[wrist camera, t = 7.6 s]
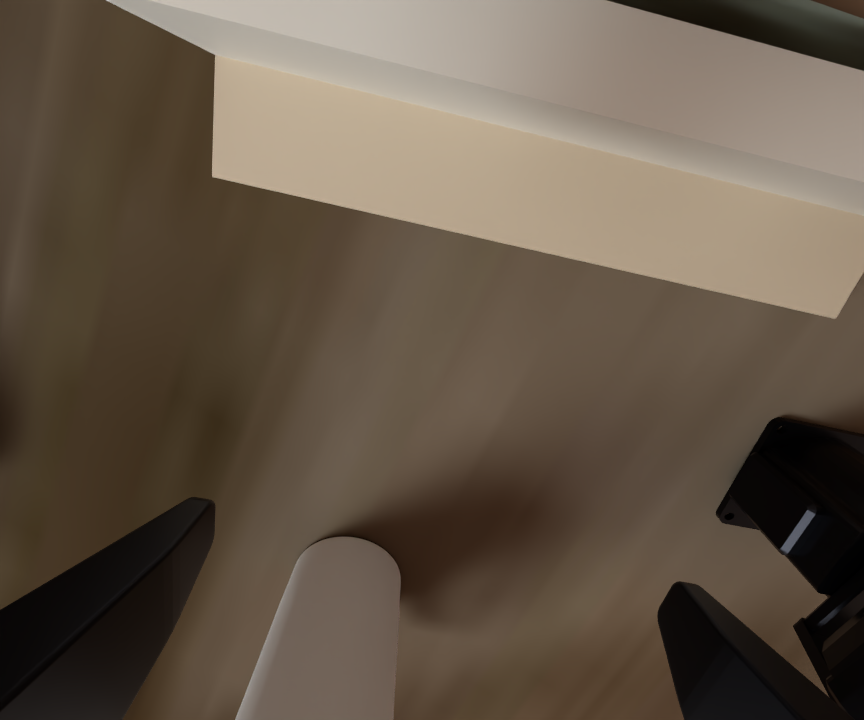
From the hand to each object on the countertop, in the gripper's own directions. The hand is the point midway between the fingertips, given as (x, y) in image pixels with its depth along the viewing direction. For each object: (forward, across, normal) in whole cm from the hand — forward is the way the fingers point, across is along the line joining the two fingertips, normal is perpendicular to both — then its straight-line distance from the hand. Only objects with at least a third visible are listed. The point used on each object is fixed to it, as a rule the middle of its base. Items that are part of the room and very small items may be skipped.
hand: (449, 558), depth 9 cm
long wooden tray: (+13, -3, -10) cm, 16 cm away
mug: (+13, +1, +17) cm, 22 cm away
